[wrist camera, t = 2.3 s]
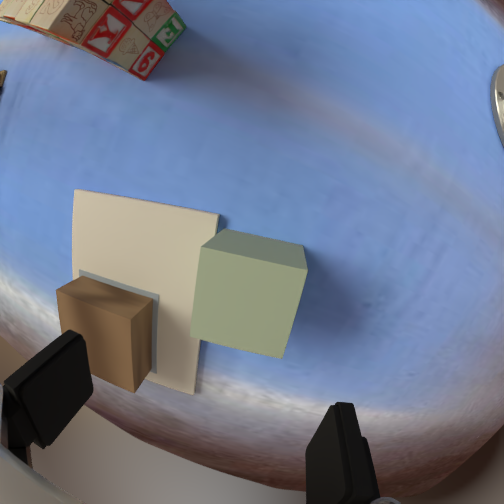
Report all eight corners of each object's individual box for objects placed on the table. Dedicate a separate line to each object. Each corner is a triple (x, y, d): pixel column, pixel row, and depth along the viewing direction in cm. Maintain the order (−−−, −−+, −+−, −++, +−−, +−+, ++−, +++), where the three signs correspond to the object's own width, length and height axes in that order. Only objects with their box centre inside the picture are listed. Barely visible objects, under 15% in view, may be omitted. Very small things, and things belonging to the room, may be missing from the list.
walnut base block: (153, 298, 23) (130, 319, 19) (151, 368, 25) (134, 393, 21) (82, 275, 23) (56, 289, 19) (88, 342, 25) (67, 361, 22)
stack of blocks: (41, 35, 18) (-26, 13, 6) (70, -5, 16) (9, -37, 4) (146, 82, 19) (44, 30, 7) (190, 26, 17) (121, -57, 5)
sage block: (302, 245, 21) (307, 270, 15) (284, 315, 22) (282, 358, 17) (224, 228, 21) (200, 246, 15) (212, 299, 23) (189, 336, 17)
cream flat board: (219, 214, 21) (217, 215, 20) (195, 391, 26) (193, 395, 25) (78, 188, 22) (73, 189, 21) (83, 348, 27) (80, 351, 26)
